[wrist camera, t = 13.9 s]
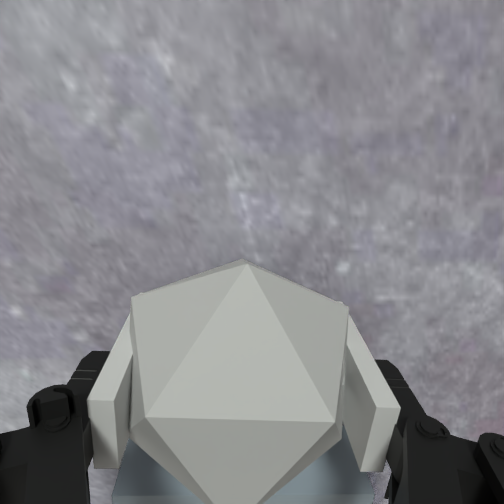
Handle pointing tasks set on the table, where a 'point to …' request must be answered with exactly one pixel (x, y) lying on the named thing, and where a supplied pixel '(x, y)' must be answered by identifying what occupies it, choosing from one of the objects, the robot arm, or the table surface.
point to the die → (236, 380)
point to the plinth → (285, 500)
